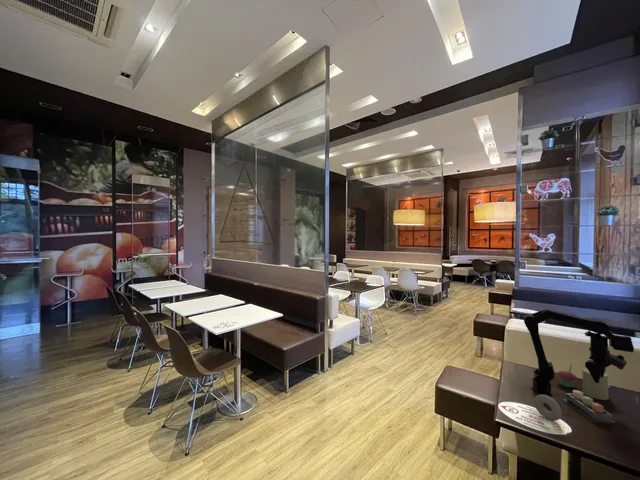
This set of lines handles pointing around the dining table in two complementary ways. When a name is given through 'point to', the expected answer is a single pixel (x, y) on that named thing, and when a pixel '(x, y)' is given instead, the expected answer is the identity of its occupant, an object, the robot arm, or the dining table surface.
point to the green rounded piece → (587, 401)
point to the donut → (551, 415)
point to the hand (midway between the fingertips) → (599, 380)
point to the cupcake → (567, 378)
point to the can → (595, 385)
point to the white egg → (577, 394)
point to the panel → (588, 410)
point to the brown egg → (597, 408)
